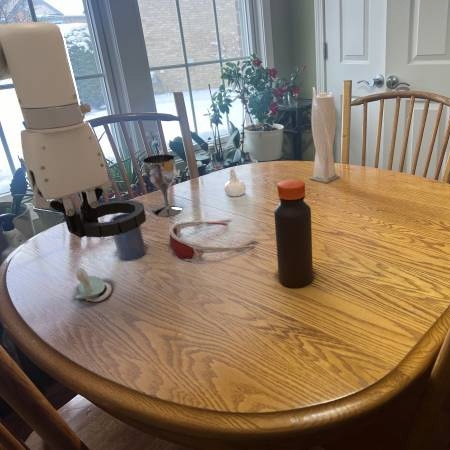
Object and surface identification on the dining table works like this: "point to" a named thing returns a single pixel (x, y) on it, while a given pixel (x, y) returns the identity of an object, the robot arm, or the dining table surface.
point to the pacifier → (91, 287)
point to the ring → (118, 225)
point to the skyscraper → (323, 136)
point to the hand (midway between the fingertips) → (85, 231)
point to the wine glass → (162, 179)
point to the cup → (129, 242)
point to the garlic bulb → (234, 185)
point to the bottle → (293, 235)
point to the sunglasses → (191, 250)
